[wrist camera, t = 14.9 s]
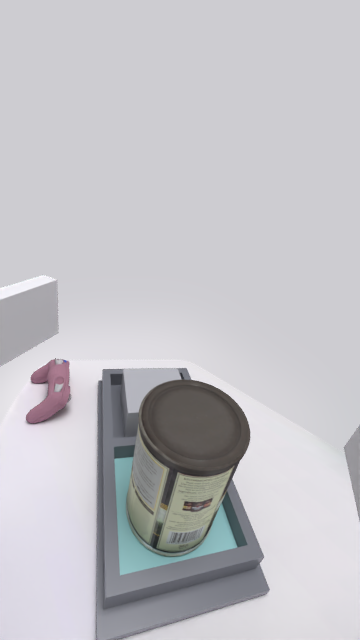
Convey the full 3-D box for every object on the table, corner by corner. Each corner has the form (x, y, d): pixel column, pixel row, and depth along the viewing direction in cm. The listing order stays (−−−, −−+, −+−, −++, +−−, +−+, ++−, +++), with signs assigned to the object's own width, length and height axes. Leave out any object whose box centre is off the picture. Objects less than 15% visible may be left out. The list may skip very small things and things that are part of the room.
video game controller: (55, 430, 40) (78, 396, 38) (22, 425, 38) (46, 388, 36) (55, 384, 48) (75, 354, 46) (28, 377, 45) (48, 345, 44)
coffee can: (177, 448, 38) (198, 368, 32) (231, 516, 31) (273, 433, 25) (108, 488, 32) (117, 398, 25) (158, 585, 25) (188, 497, 19)
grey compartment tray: (185, 382, 52) (192, 357, 50) (266, 594, 27) (288, 566, 24) (98, 385, 47) (100, 357, 45) (96, 646, 22) (100, 619, 19)
